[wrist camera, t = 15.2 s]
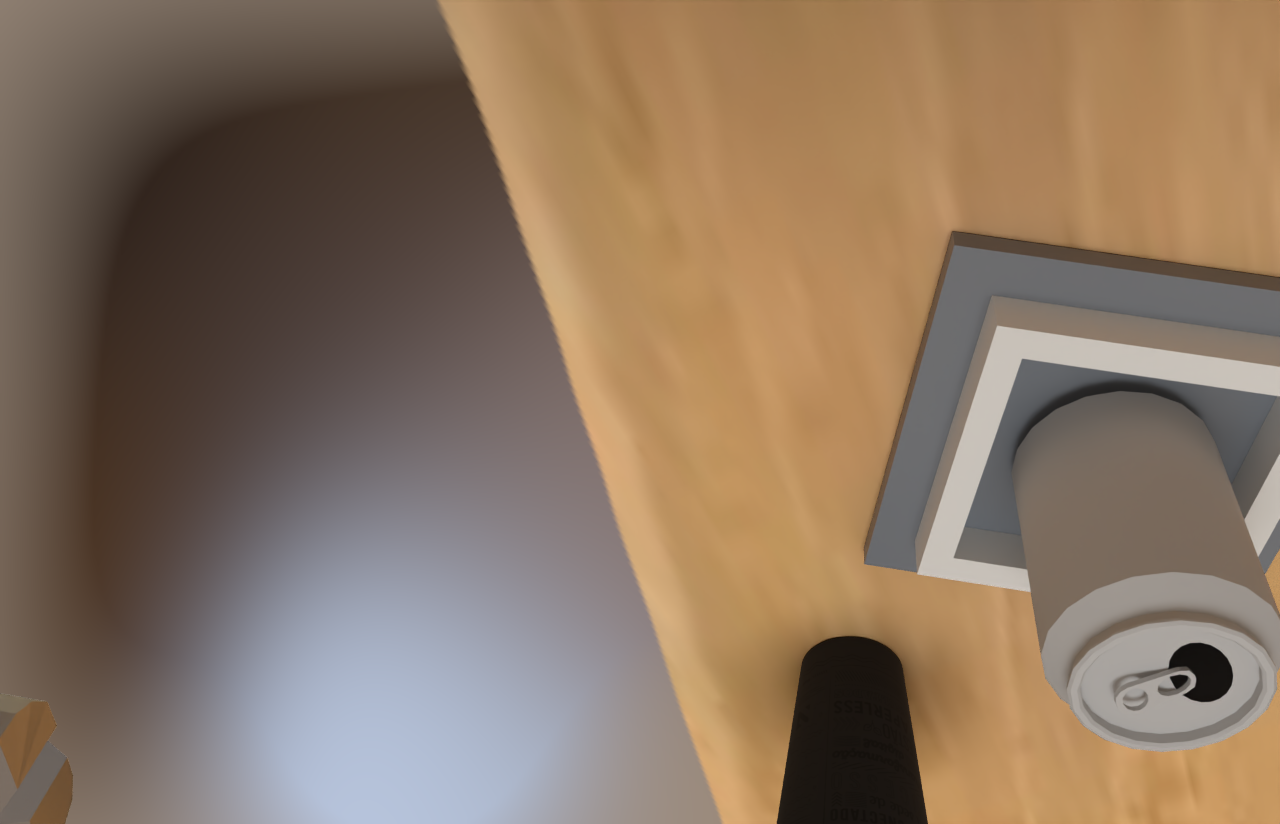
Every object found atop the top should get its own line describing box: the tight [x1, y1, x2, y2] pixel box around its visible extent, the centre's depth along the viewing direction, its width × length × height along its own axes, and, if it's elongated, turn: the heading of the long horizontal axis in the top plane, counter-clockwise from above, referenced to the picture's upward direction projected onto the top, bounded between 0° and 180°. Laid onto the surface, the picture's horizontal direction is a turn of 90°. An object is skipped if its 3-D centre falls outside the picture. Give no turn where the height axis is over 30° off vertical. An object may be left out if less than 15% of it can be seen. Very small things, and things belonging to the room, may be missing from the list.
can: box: [1011, 391, 1280, 752], centre depth 43 cm, size 8×8×12 cm
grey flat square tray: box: [864, 231, 1280, 592], centre depth 48 cm, size 16×16×3 cm
